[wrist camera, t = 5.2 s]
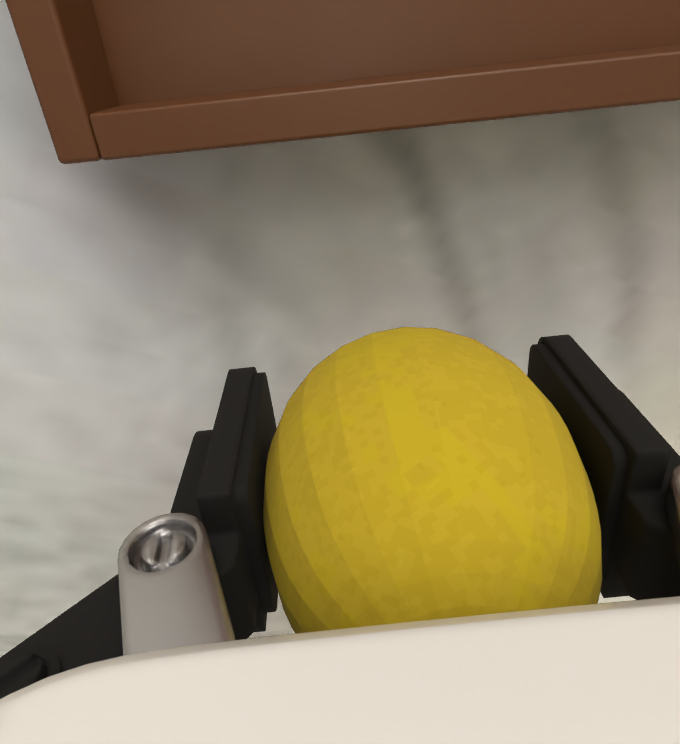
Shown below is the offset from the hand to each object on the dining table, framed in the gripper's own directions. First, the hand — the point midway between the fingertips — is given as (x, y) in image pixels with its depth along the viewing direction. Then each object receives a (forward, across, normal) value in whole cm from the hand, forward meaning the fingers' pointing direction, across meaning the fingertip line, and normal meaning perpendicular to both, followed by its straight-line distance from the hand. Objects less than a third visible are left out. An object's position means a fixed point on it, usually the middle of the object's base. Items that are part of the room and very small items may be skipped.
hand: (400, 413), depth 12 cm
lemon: (+2, 0, 0) cm, 2 cm away
